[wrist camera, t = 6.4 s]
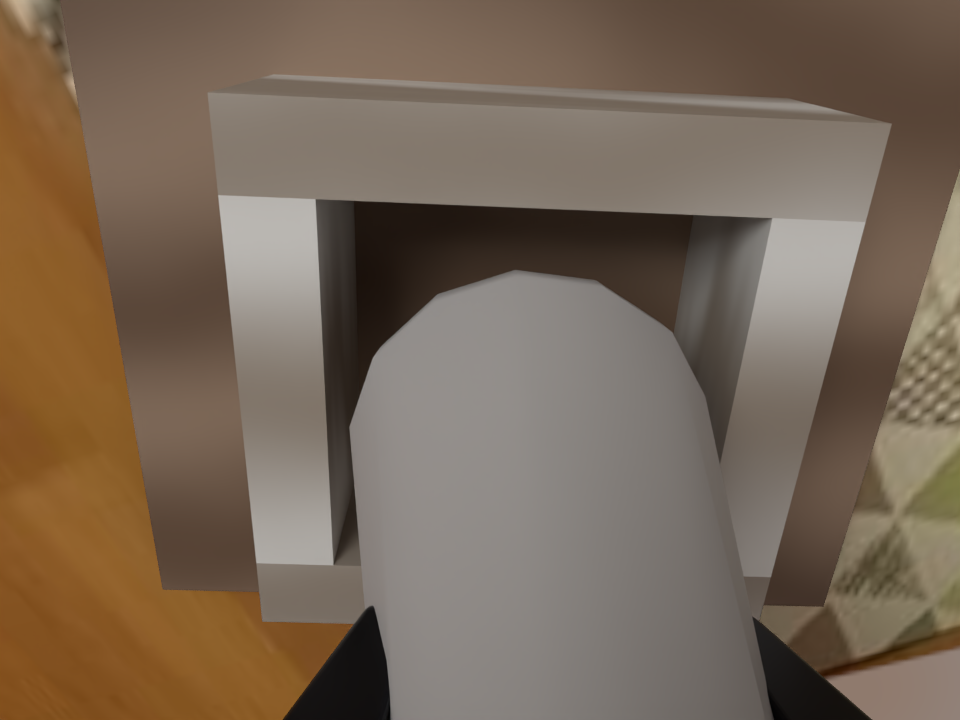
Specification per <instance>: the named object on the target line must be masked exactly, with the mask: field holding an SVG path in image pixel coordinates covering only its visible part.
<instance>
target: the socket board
mask: <svg viewBox="0 0 960 720" xmlns="http://www.w3.org/2000/svg"><path fill="white" fill-rule="evenodd" d="M60 3H61V8H62V14H63V20H64V26H65V31H66V37H67V43H68V49H69V54H70V60H71V66H72V72H73V77H74V83H75V89H76V94H77V100H78V106H79V112H80V117H81V123H82V129H83V135H84V140H85V146H86V152H87V158H88V163H89V169H90V175H91V181H92V186H93V192H94V198H95V204H96V209H97V215H98V221H99V226H100V232H101V238H102V244H103V249H104V255H105V261H106V267H107V272H108V278H109V284H110V290H111V295H112V301H113V307H114V313H115V318H116V324H117V330H118V336H119V341H120V347H121V353H122V358H123V364H124V370H125V376H126V381H127V387H128V393H129V399H130V404H131V410H132V416H133V422H134V427H135V433H136V439H137V445H138V450H139V456H140V462H141V468H142V473H143V479H144V485H145V490H146V496H147V502H148V508H149V513H150V519H151V525H152V531H153V536H154V542H155V548H156V554H157V559H158V565H159V571H160V577H161V582H162V588H163V589H165V590H203V591H242V592H259V593H260V603H261V612H262V621H265V622H305V623H346V624H354V623H355V622H356V621H357V619H358V618H359V617H360V615H361V614H362V613H363V611H364V610H365V605H364V593H363V581H362V569H361V558H360V546H359V534H358V522H357V511H356V499H355V487H354V475H353V464H352V452H351V440H350V428H349V427H350V424H351V421H352V418H353V415H354V412H355V409H356V406H357V403H358V400H359V397H360V394H361V391H362V388H363V385H364V382H365V380H366V377H367V374H368V371H369V368H370V365H371V362H372V359H373V357H374V356H375V354H376V353H377V351H378V350H379V348H380V347H381V346H382V345H383V344H384V343H385V342H386V341H387V340H388V339H389V338H390V337H392V336H393V335H394V334H395V333H396V332H397V331H398V330H399V329H400V328H401V327H402V326H403V325H405V324H406V323H407V322H408V321H409V320H410V319H411V318H412V317H413V316H414V315H415V314H416V313H418V312H419V311H420V310H421V309H422V308H423V307H424V306H425V305H426V304H427V303H428V302H429V301H431V300H432V299H433V298H434V297H435V296H436V295H437V294H439V293H443V292H446V291H449V290H452V289H455V288H459V287H462V286H465V285H468V284H471V283H475V282H478V281H481V280H484V279H487V278H491V277H494V276H497V275H500V274H503V273H506V272H510V271H513V270H521V271H528V272H536V273H544V274H552V275H560V276H567V277H575V278H583V279H591V280H596V281H598V282H599V283H601V284H602V285H604V286H605V287H607V288H608V289H610V290H611V291H613V292H615V293H616V294H618V295H619V296H621V297H622V298H624V299H625V300H627V301H628V302H630V303H631V304H633V305H634V306H636V307H637V308H639V309H640V310H642V311H644V312H645V313H647V314H648V315H650V316H651V317H653V318H654V319H656V320H657V321H659V322H660V323H661V324H663V325H664V326H665V327H666V328H668V329H669V330H670V331H671V332H672V333H673V335H674V337H675V339H676V340H677V342H678V344H679V346H680V348H681V350H682V352H683V354H684V356H685V358H686V360H687V362H688V364H689V366H690V368H691V370H692V372H693V374H694V376H695V378H696V380H697V381H698V383H699V385H700V387H701V389H702V391H703V393H704V395H705V397H706V402H707V407H708V411H709V416H710V421H711V425H712V430H713V435H714V439H715V444H716V449H717V454H718V458H719V463H720V468H721V472H722V477H723V482H724V486H725V491H726V496H727V501H728V505H729V510H730V515H731V519H732V524H733V529H734V533H735V538H736V543H737V548H738V552H739V557H740V562H741V566H742V571H743V576H744V580H745V585H746V590H747V595H748V599H749V604H750V609H751V613H752V616H753V617H754V618H756V619H757V620H758V621H759V620H760V616H761V612H762V608H763V605H783V606H822V607H823V606H824V603H825V600H826V596H827V593H828V590H829V587H830V584H831V580H832V577H833V574H834V571H835V567H836V564H837V561H838V558H839V555H840V551H841V548H842V545H843V542H844V539H845V535H846V532H847V529H848V526H849V523H850V519H851V516H852V513H853V510H854V506H855V503H856V500H857V497H858V494H859V490H860V487H861V484H862V481H863V478H864V474H865V471H866V468H867V465H868V462H869V458H870V455H871V452H872V449H873V445H874V442H875V439H876V436H877V433H878V429H879V426H880V423H881V420H882V417H883V413H884V410H885V407H886V404H887V401H888V397H889V394H890V391H891V388H892V384H893V381H894V378H895V375H896V372H897V368H898V365H899V362H900V359H901V356H902V352H903V349H904V346H905V343H906V340H907V336H908V333H909V330H910V327H911V324H912V320H913V317H914V314H915V311H916V307H917V304H918V301H919V298H920V295H921V291H922V288H923V285H924V282H925V279H926V275H927V272H928V269H929V266H930V263H931V259H932V256H933V253H934V250H935V246H936V243H937V240H938V237H939V234H940V230H941V227H942V224H943V221H944V218H945V214H946V211H947V208H948V205H949V202H950V198H951V195H952V192H953V189H954V185H955V182H956V179H957V176H958V173H959V169H960V0H60Z"/></svg>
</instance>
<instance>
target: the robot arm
mask: <svg viewBox="0 0 960 720" xmlns="http://www.w3.org/2000/svg"><path fill="white" fill-rule="evenodd" d="M752 618H753V623H754V627H755V632H756V637H757V642H758V646H759V651H760V656H761V660H762V665H763V670H764V674H765V679H766V686H767V692H768V698H769V702H770V706H771V710H772V714H773V717H774V720H872V719H871V718H869V717H868V716H867V715H866V714H865V713H864V712H863V711H861V710H860V709H859V708H858V707H857V706H856V705H855V704H853V703H852V702H851V701H850V700H849V699H848V698H847V697H845V696H844V695H843V694H842V693H840V691H838V690H837V689H836V688H835V687H834V686H833V685H832V684H830V683H829V682H828V681H827V680H826V679H825V678H824V677H822V676H821V675H820V674H819V673H818V672H817V671H816V670H814V669H813V668H812V667H811V666H810V665H809V664H808V663H806V662H805V661H804V660H803V659H802V658H801V657H799V656H798V655H797V654H796V653H795V652H794V651H793V650H791V649H790V648H789V647H788V646H787V645H786V644H785V643H783V642H782V641H781V640H780V639H779V638H778V637H777V636H775V635H774V634H773V633H772V632H771V631H770V630H769V629H767V628H766V627H765V626H764V625H763V624H762V623H760V622H759V621H758V620H757V619H756V618H754V617H753V616H752ZM389 715H390V690H389V679H388V669H387V660H386V656H385V651H384V647H383V642H382V638H381V634H380V629H379V625H378V621H377V616H376V612H375V608H374V606H369V607H367V608H366V609H365V610H364V611H363V613H362V614H361V615H360V617H359V618H358V619H357V621H356V622H355V623H354V625H353V626H352V627H351V629H350V630H349V631H348V633H347V634H346V636H345V637H344V638H343V640H342V641H341V642H340V644H339V645H338V646H337V648H336V649H335V650H334V652H333V653H332V654H331V656H330V657H329V658H328V660H327V661H326V662H325V664H324V665H323V666H322V668H321V669H320V670H319V672H318V673H317V674H316V676H315V677H314V678H313V680H312V681H311V682H310V684H309V685H308V686H307V688H306V689H305V690H304V692H303V693H302V695H301V696H300V697H299V699H298V700H297V701H296V703H295V704H294V705H293V707H292V708H291V709H290V711H289V712H288V713H287V715H286V716H285V717H284V719H283V720H389Z"/></svg>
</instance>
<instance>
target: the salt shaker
mask: <svg viewBox="0 0 960 720" xmlns="http://www.w3.org/2000/svg"><path fill="white" fill-rule="evenodd" d="M349 428H350V440H351V452H352V464H353V475H354V487H355V499H356V511H357V522H358V534H359V546H360V558H361V569H362V581H363V593H364V605H365V609H366V608H367V607H369V606H374V608H375V612H376V616H377V621H378V625H379V629H380V634H381V638H382V642H383V647H384V651H385V656H386V660H387V669H388V679H389V690H390V715H389V720H774V717H773V714H772V710H771V706H770V702H769V698H768V692H767V686H766V679H765V674H764V670H763V665H762V660H761V656H760V651H759V646H758V642H757V637H756V632H755V627H754V623H753V618H752V613H751V609H750V604H749V599H748V595H747V590H746V585H745V580H744V576H743V571H742V566H741V562H740V557H739V552H738V548H737V543H736V538H735V533H734V529H733V524H732V519H731V515H730V510H729V505H728V501H727V496H726V491H725V486H724V482H723V477H722V472H721V468H720V463H719V458H718V454H717V449H716V444H715V439H714V435H713V430H712V425H711V421H710V416H709V411H708V407H707V402H706V397H705V395H704V393H703V391H702V389H701V387H700V385H699V383H698V381H697V380H696V378H695V376H694V374H693V372H692V370H691V368H690V366H689V364H688V362H687V360H686V358H685V356H684V354H683V352H682V350H681V348H680V346H679V344H678V342H677V340H676V339H675V337H674V335H673V333H672V332H671V331H670V330H669V329H668V328H666V327H665V326H664V325H663V324H661V323H660V322H659V321H657V320H656V319H654V318H653V317H651V316H650V315H648V314H647V313H645V312H644V311H642V310H640V309H639V308H637V307H636V306H634V305H633V304H631V303H630V302H628V301H627V300H625V299H624V298H622V297H621V296H619V295H618V294H616V293H615V292H613V291H611V290H610V289H608V288H607V287H605V286H604V285H602V284H601V283H599V282H598V281H596V280H591V279H583V278H575V277H567V276H560V275H552V274H544V273H536V272H528V271H521V270H513V271H510V272H506V273H503V274H500V275H497V276H494V277H491V278H487V279H484V280H481V281H478V282H475V283H471V284H468V285H465V286H462V287H459V288H455V289H452V290H449V291H446V292H443V293H439V294H437V295H436V296H435V297H434V298H433V299H432V300H431V301H429V302H428V303H427V304H426V305H425V306H424V307H423V308H422V309H421V310H420V311H419V312H418V313H416V314H415V315H414V316H413V317H412V318H411V319H410V320H409V321H408V322H407V323H406V324H405V325H403V326H402V327H401V328H400V329H399V330H398V331H397V332H396V333H395V334H394V335H393V336H392V337H390V338H389V339H388V340H387V341H386V342H385V343H384V344H383V345H382V346H381V347H380V348H379V350H378V351H377V353H376V354H375V356H374V357H373V359H372V362H371V365H370V368H369V371H368V374H367V377H366V380H365V382H364V385H363V388H362V391H361V394H360V397H359V400H358V403H357V406H356V409H355V412H354V415H353V418H352V421H351V424H350V427H349Z"/></svg>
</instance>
